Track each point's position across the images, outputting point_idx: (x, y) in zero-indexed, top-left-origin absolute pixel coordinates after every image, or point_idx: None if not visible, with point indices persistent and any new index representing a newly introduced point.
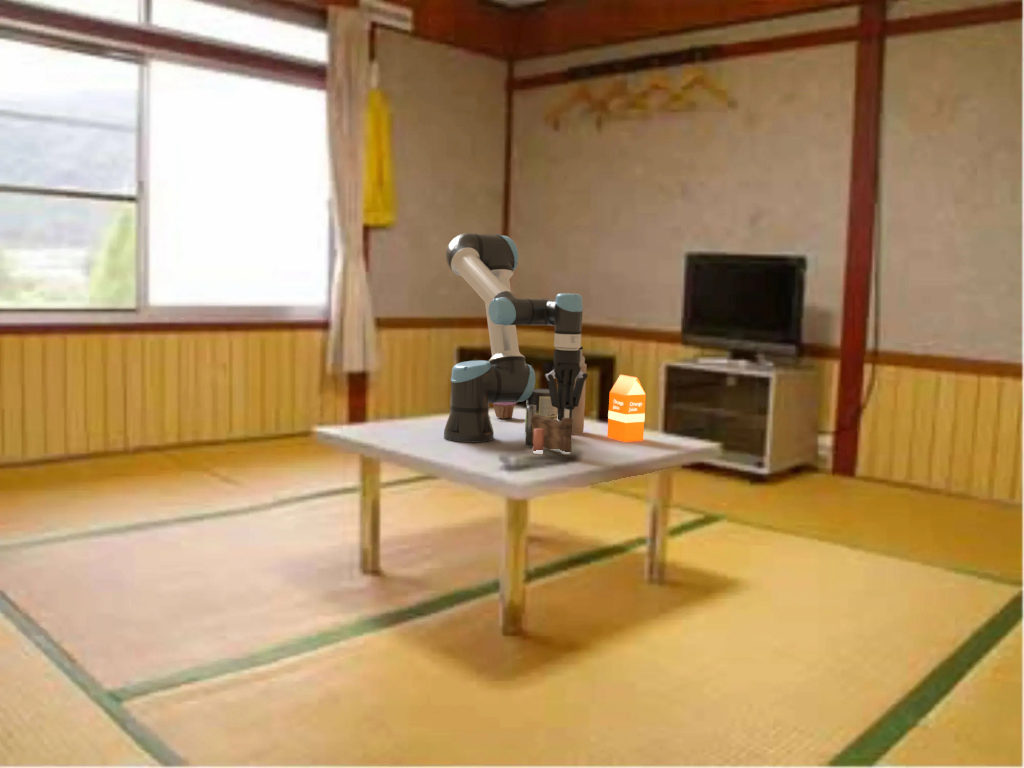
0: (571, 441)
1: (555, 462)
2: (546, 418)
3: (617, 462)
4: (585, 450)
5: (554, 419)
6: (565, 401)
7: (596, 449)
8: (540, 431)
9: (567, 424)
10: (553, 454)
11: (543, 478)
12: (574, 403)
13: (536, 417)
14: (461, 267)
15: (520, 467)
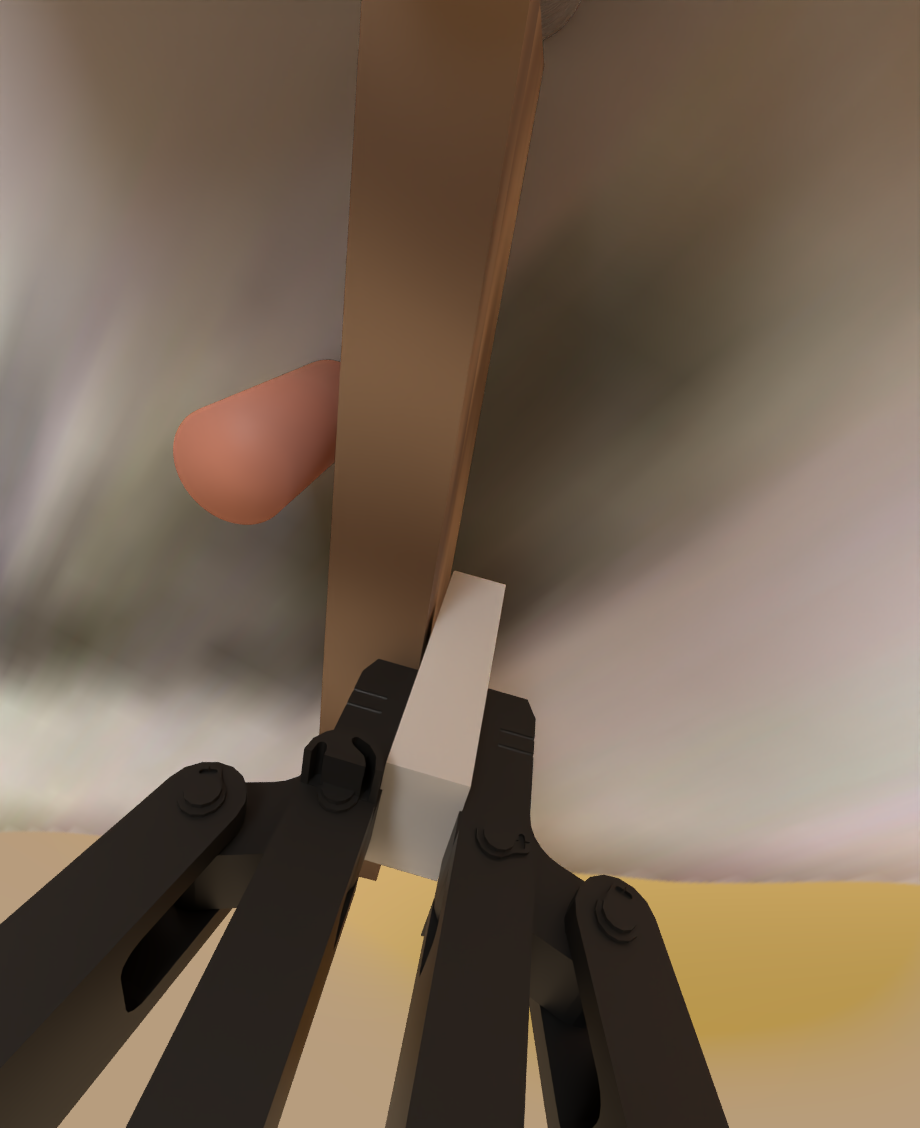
0: None
1: (277, 658)
2: (388, 401)
3: (595, 823)
4: (788, 508)
5: (442, 527)
6: (441, 928)
7: (914, 528)
8: (227, 510)
9: None
10: None
11: (59, 807)
12: (536, 1003)
13: (361, 110)
14: None
15: (34, 639)
